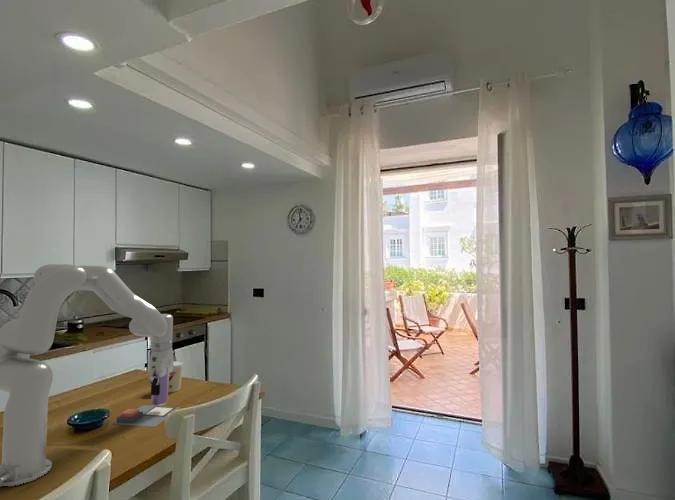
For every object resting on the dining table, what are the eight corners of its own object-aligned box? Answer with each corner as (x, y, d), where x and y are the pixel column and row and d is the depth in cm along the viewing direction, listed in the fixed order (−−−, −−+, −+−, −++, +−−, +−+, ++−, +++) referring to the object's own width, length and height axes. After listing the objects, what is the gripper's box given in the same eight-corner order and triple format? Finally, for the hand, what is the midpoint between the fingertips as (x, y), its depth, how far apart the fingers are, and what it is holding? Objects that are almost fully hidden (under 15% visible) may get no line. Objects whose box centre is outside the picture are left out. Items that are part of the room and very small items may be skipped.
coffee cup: (155, 391, 172) (156, 365, 173) (170, 385, 181) (171, 360, 182) (172, 394, 170) (173, 367, 170) (186, 387, 179) (187, 362, 179)
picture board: (154, 429, 134) (155, 421, 134) (112, 426, 136) (113, 418, 136) (180, 409, 152) (180, 402, 152) (142, 407, 154) (143, 400, 154)
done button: (131, 419, 138) (132, 413, 138) (121, 418, 138) (121, 413, 138) (138, 414, 142) (139, 409, 142) (128, 414, 142) (128, 408, 142)
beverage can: (161, 406, 144) (162, 367, 145) (147, 405, 146) (149, 366, 146) (171, 401, 150) (172, 363, 151) (157, 399, 151) (159, 362, 152)
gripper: (158, 351, 140) (156, 400, 139) (181, 341, 157) (180, 385, 156) (139, 350, 140) (137, 399, 140) (164, 340, 158) (163, 384, 157)
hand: (160, 391), depth 148 cm, fingers closed on beverage can, 6 cm apart
